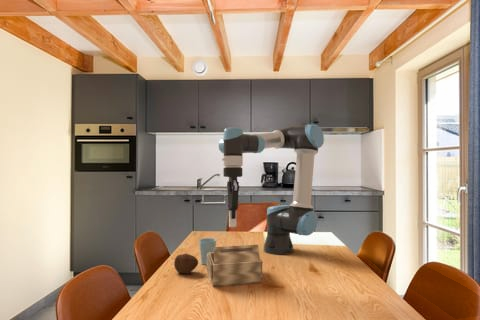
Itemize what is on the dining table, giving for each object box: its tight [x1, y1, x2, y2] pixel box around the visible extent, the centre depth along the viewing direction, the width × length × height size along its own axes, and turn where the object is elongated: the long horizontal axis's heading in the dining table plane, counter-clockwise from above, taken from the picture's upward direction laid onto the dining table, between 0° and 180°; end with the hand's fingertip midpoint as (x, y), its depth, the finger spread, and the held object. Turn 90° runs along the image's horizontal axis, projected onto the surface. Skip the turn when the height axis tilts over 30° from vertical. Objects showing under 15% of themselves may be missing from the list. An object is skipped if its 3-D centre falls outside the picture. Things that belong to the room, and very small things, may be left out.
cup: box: [198, 237, 217, 266], centre depth 141 cm, size 8×8×10 cm
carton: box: [206, 252, 263, 288], centre depth 123 cm, size 20×17×8 cm
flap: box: [213, 244, 261, 264], centre depth 116 cm, size 17×1×6 cm
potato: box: [173, 253, 199, 274], centre depth 128 cm, size 7×10×8 cm
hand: (232, 226), depth 123 cm, fingers closed
